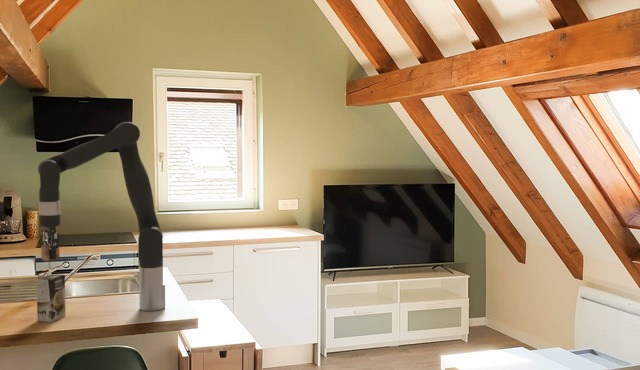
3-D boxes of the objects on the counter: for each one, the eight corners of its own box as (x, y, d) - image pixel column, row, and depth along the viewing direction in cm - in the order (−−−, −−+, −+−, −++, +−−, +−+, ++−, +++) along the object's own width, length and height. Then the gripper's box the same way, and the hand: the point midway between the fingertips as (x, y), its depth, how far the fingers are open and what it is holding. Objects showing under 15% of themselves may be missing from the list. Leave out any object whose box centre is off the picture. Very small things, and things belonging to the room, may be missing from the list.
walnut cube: (55, 257, 248) (54, 244, 247) (59, 259, 244) (59, 246, 243) (41, 259, 245) (41, 245, 244) (45, 261, 241) (45, 247, 240)
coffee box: (52, 322, 241) (51, 279, 240) (36, 321, 242) (35, 278, 241) (66, 315, 250) (65, 274, 249) (51, 314, 251) (50, 273, 250)
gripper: (66, 214, 240) (67, 260, 241) (54, 210, 251) (54, 254, 252) (45, 216, 235) (45, 262, 236) (33, 212, 246) (34, 256, 247)
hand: (50, 258), depth 244 cm, fingers closed on walnut cube, 5 cm apart
